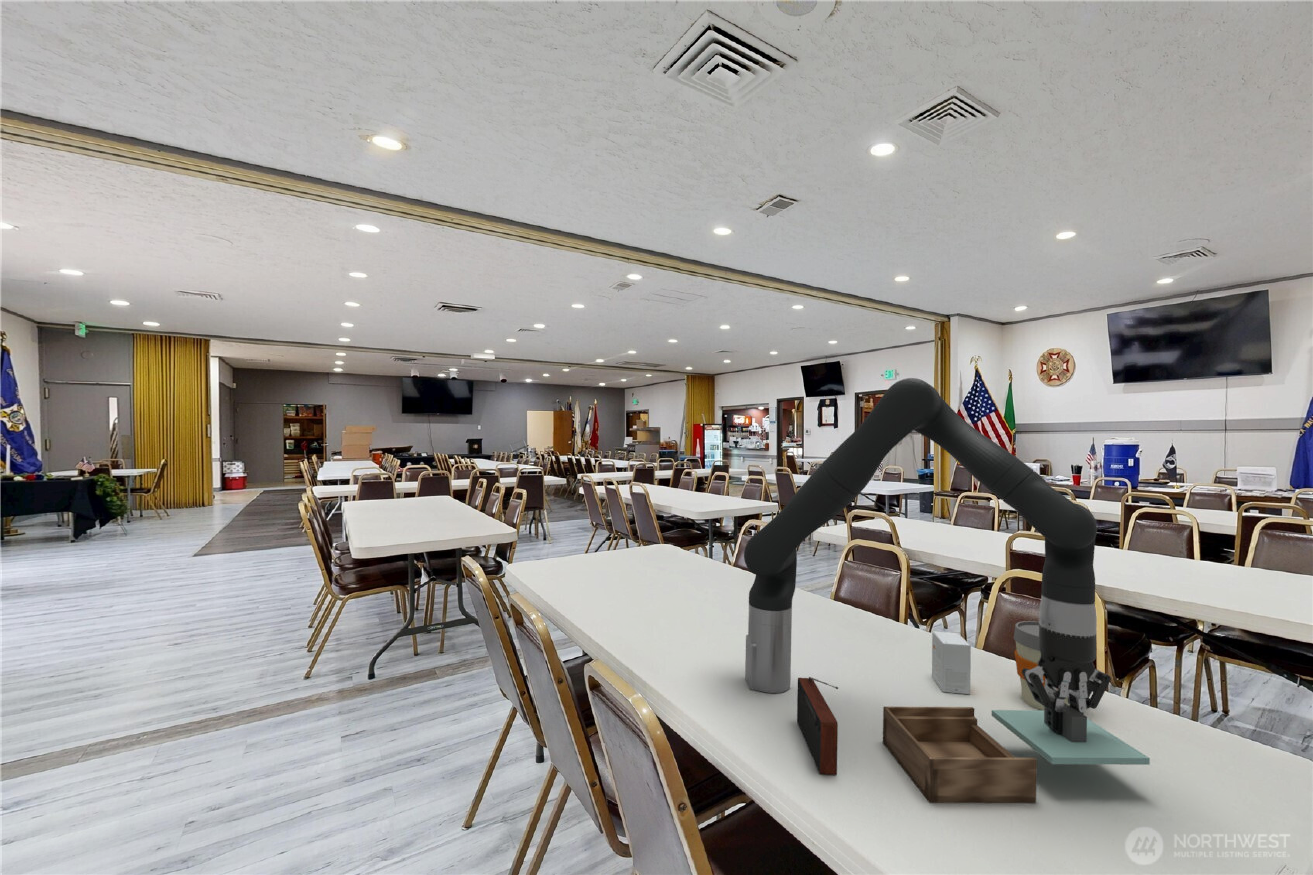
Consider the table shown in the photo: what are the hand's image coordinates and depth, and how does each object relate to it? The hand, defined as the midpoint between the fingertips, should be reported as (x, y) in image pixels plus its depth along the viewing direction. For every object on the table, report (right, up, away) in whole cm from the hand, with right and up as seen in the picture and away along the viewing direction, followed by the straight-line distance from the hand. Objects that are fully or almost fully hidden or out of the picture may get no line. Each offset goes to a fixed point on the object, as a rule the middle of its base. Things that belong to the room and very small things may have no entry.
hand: (1064, 731), depth 91 cm
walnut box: (-19, -6, -1) cm, 19 cm away
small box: (-2, -7, +31) cm, 32 cm away
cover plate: (0, -1, 0) cm, 1 cm away
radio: (-39, -6, +5) cm, 40 cm away
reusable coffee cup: (+14, -7, +23) cm, 28 cm away
